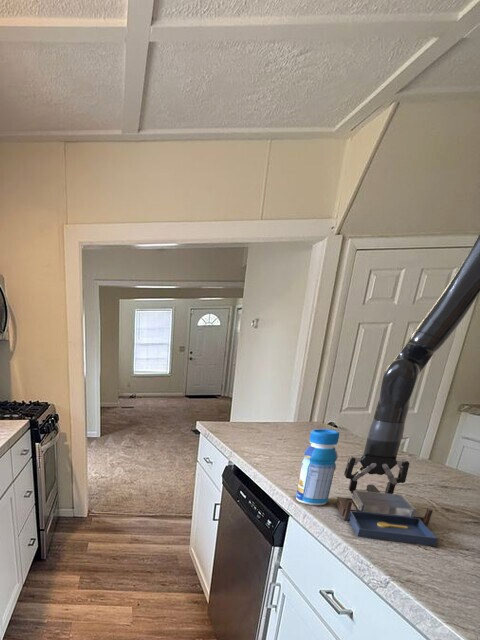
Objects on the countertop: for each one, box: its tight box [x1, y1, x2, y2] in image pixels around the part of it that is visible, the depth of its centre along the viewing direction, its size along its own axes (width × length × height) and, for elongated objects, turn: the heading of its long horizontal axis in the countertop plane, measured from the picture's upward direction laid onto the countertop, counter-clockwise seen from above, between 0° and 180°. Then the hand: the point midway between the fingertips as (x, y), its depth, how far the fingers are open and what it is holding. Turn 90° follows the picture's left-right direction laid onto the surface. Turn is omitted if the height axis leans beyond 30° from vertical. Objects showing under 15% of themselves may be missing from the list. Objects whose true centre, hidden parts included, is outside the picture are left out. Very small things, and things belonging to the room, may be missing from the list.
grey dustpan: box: [351, 484, 416, 518], centre depth 106 cm, size 11×18×2 cm, turn 159°
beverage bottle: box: [295, 428, 340, 506], centre depth 111 cm, size 8×8×20 cm
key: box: [377, 522, 408, 529], centre depth 97 cm, size 6×3×1 cm, turn 69°
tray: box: [348, 511, 439, 547], centre depth 96 cm, size 15×12×2 cm
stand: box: [335, 496, 434, 528], centre depth 104 cm, size 17×13×5 cm
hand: (369, 494), depth 113 cm, fingers open, 8 cm apart
